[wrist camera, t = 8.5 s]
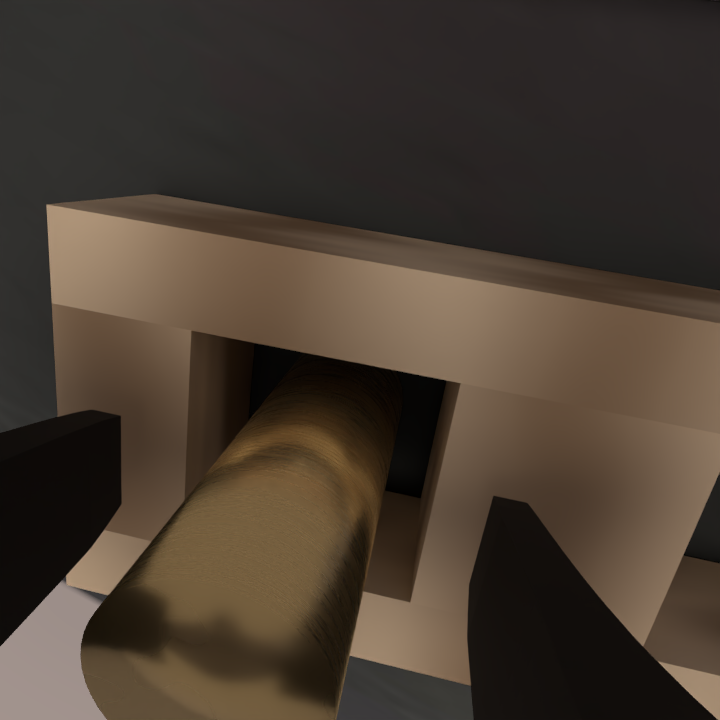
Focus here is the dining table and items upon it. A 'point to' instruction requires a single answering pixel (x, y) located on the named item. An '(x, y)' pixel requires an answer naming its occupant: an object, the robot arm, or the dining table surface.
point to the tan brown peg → (257, 563)
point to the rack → (456, 417)
